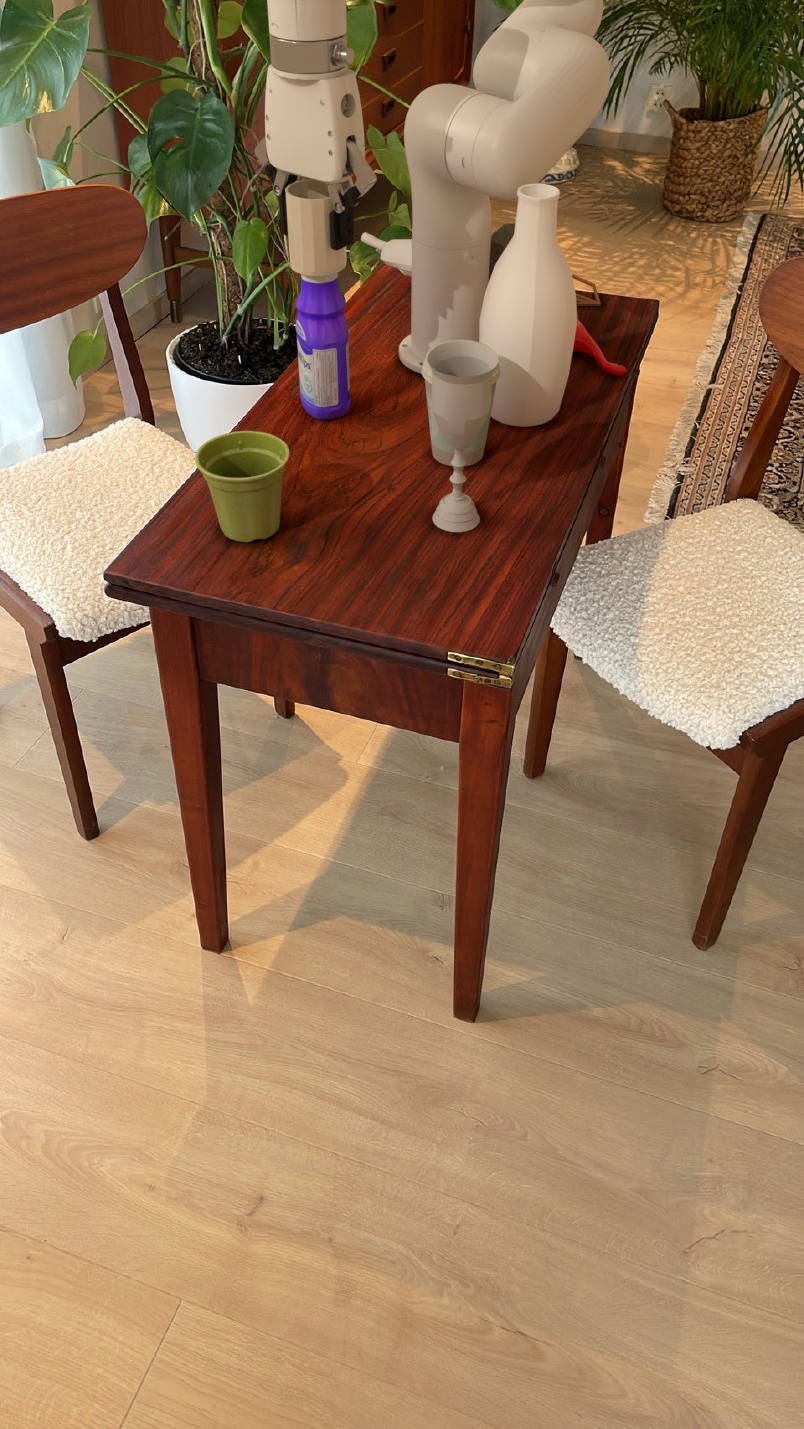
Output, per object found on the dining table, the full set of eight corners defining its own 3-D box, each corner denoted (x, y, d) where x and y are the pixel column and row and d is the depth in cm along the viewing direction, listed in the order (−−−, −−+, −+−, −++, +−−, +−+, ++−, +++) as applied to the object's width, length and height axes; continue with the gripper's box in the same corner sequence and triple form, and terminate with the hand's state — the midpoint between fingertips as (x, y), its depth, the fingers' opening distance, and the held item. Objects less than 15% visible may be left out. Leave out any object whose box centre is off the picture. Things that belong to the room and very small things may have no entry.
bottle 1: (294, 399, 141) (284, 256, 129) (338, 391, 143) (333, 249, 131) (312, 427, 136) (304, 281, 124) (357, 418, 138) (354, 274, 126)
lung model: (543, 274, 161) (403, 236, 173) (485, 234, 146) (336, 196, 158) (527, 321, 162) (388, 281, 174) (467, 286, 148) (321, 244, 160)
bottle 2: (584, 404, 140) (610, 186, 123) (536, 442, 134) (556, 218, 116) (507, 378, 145) (522, 165, 128) (457, 414, 139) (465, 194, 121)
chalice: (482, 541, 119) (492, 380, 107) (418, 534, 120) (420, 373, 108) (492, 503, 125) (503, 345, 112) (430, 496, 126) (434, 338, 113)
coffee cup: (443, 427, 136) (446, 330, 128) (508, 447, 133) (515, 349, 125) (406, 460, 131) (406, 361, 123) (472, 481, 128) (478, 381, 120)
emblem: (511, 290, 164) (511, 285, 164) (557, 270, 170) (557, 266, 169) (577, 317, 158) (577, 312, 158) (622, 295, 163) (623, 290, 163)
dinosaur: (508, 296, 151) (513, 342, 142) (619, 313, 152) (631, 359, 144) (501, 324, 154) (506, 371, 145) (611, 340, 155) (622, 388, 146)
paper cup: (314, 249, 131) (310, 175, 125) (357, 262, 128) (356, 187, 123) (278, 267, 127) (273, 191, 122) (322, 281, 124) (318, 204, 119)
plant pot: (187, 540, 119) (176, 466, 114) (233, 494, 126) (225, 422, 120) (267, 562, 117) (260, 487, 111) (310, 514, 123) (305, 441, 117)
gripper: (402, 60, 112) (401, 247, 124) (267, 32, 119) (279, 211, 132) (354, 77, 107) (358, 269, 120) (217, 47, 115) (234, 231, 127)
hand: (317, 237), depth 126 cm, fingers closed on paper cup, 6 cm apart
